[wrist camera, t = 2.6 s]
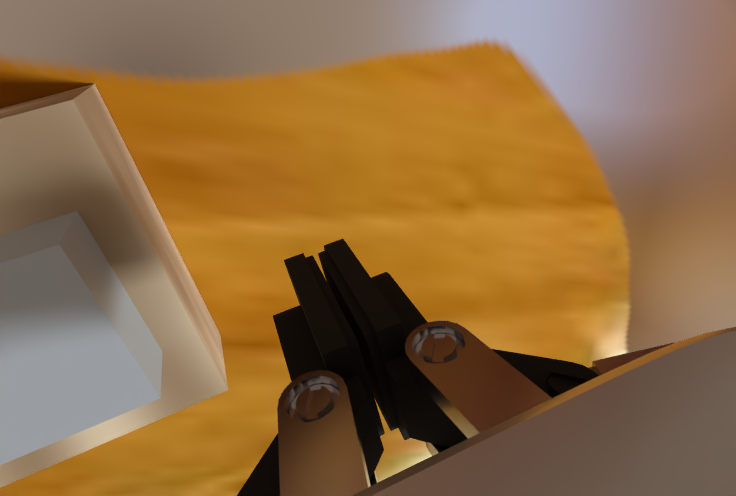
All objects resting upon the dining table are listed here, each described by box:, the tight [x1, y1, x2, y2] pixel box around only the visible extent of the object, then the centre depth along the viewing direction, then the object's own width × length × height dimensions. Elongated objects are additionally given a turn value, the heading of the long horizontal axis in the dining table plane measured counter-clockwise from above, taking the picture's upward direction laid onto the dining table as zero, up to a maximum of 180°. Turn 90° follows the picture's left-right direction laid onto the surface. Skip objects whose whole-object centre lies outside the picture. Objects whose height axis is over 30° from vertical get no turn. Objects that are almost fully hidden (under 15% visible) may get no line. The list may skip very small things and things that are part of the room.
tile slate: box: [0, 211, 162, 465], centre depth 14 cm, size 6×6×2 cm
